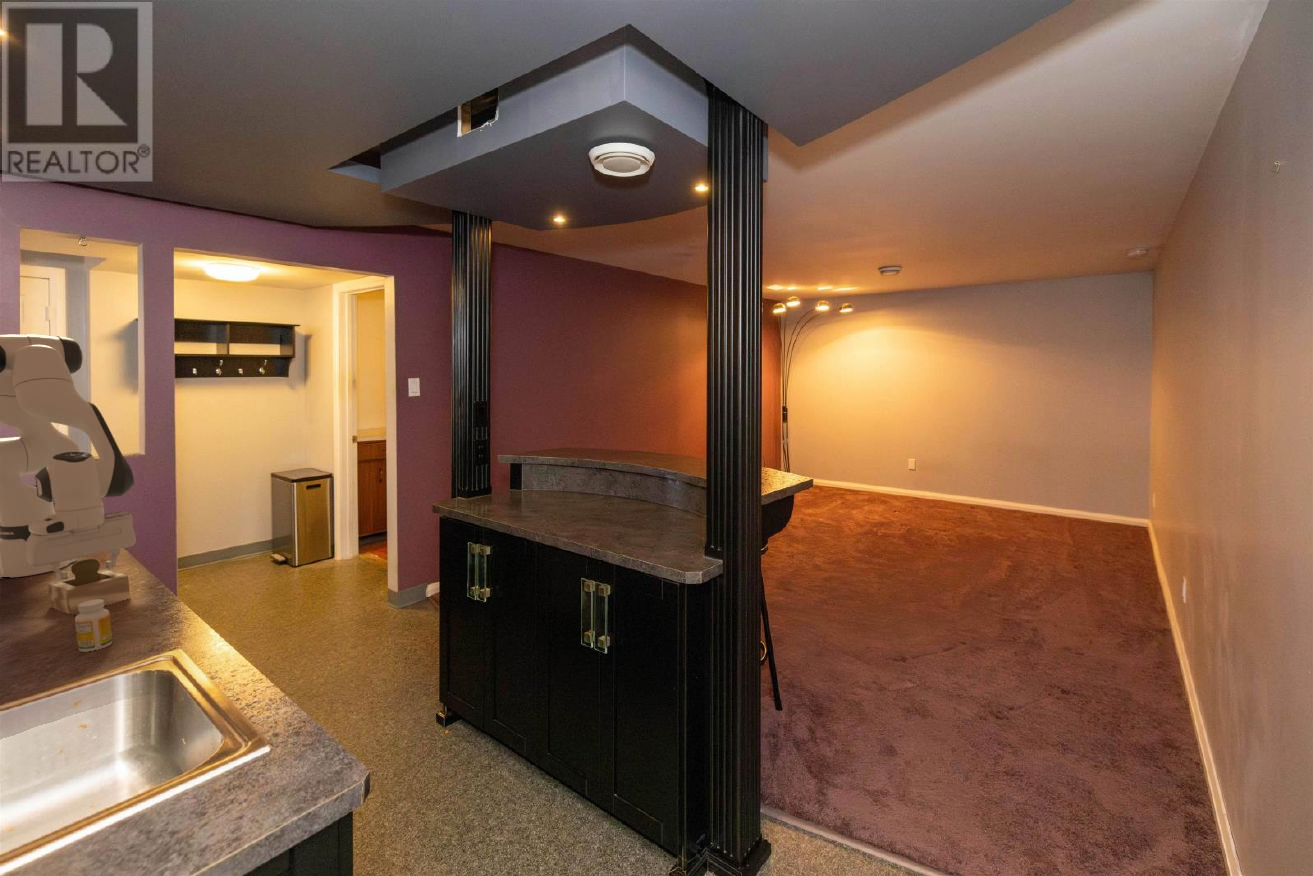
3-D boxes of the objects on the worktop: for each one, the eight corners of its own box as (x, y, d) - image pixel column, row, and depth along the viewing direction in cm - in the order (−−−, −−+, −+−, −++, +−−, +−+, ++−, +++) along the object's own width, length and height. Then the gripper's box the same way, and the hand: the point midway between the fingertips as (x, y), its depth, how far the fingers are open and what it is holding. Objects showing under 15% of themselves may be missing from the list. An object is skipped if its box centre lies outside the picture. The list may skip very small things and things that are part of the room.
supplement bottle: (80, 655, 126) (74, 609, 125) (76, 647, 129) (70, 603, 128) (115, 645, 130) (110, 601, 129) (110, 638, 134) (105, 595, 132)
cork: (86, 608, 151) (80, 564, 149) (67, 607, 152) (61, 563, 151) (112, 599, 157) (107, 557, 155) (93, 597, 158) (88, 556, 156)
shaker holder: (50, 607, 152) (47, 583, 151) (108, 591, 162) (105, 569, 161) (72, 615, 147) (69, 590, 146) (130, 598, 157) (127, 575, 156)
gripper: (125, 508, 162) (131, 559, 164) (19, 527, 144) (26, 584, 146) (137, 510, 160) (143, 562, 161) (30, 530, 141) (38, 588, 143)
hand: (87, 573), depth 153 cm, fingers open, 8 cm apart
